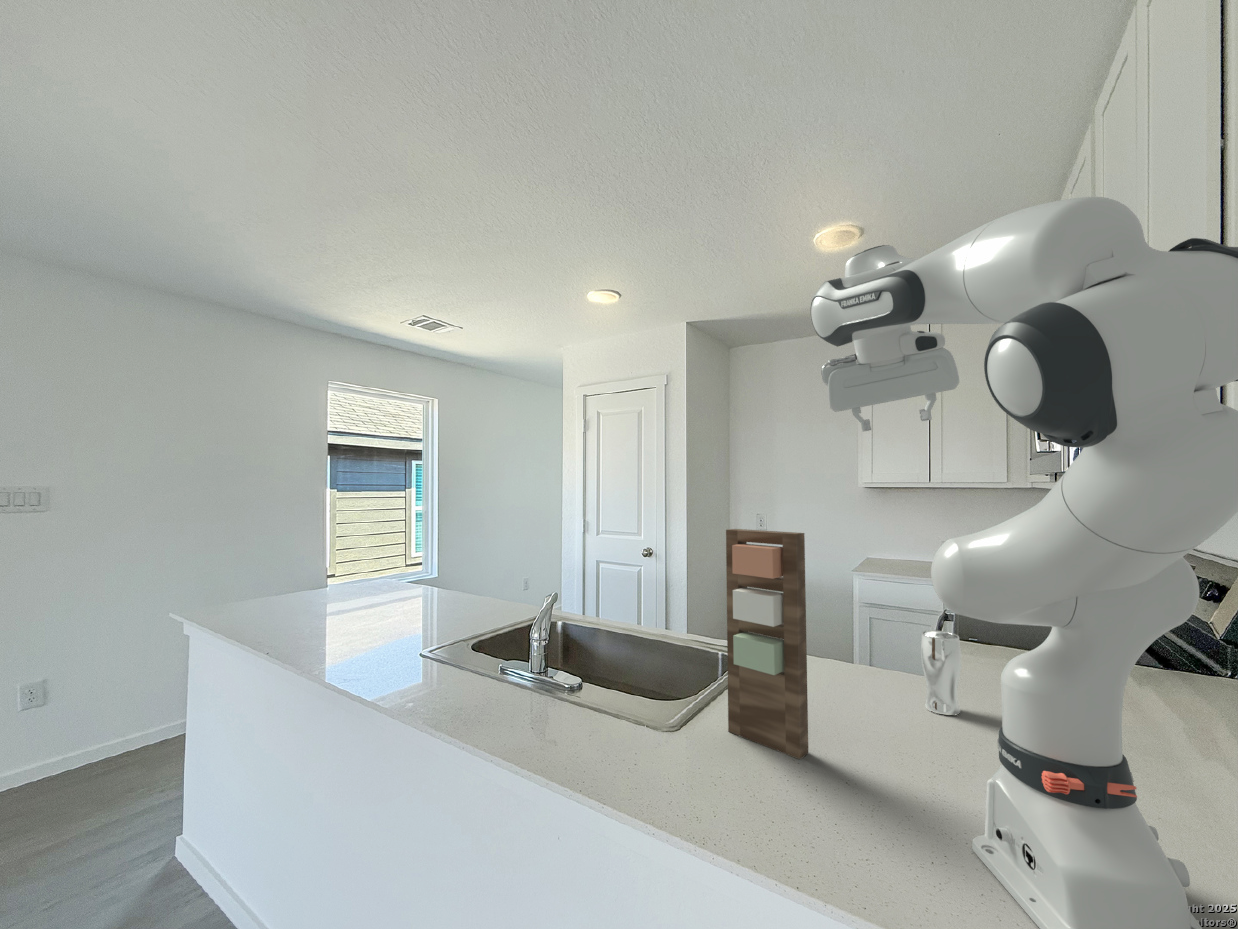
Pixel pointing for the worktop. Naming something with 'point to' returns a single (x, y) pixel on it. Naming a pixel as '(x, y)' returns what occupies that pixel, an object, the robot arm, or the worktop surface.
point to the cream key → (758, 606)
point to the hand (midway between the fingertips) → (895, 425)
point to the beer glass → (941, 670)
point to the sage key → (759, 652)
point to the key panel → (780, 701)
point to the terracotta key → (757, 560)
